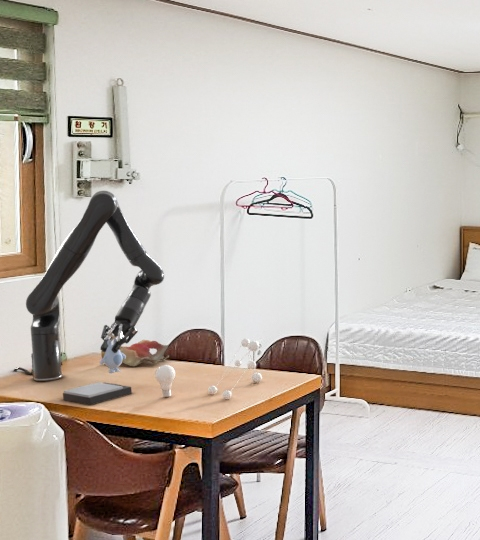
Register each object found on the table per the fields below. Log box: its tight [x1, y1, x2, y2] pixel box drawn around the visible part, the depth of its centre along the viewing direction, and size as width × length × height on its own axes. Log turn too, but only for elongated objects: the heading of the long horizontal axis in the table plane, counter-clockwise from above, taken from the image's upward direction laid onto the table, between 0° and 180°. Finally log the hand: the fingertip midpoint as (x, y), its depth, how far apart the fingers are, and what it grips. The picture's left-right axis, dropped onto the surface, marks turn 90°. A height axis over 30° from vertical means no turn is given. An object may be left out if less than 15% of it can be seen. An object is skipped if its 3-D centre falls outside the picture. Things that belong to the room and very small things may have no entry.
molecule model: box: [207, 338, 263, 400], centre depth 299 cm, size 14×25×18 cm, turn 155°
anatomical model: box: [100, 339, 170, 367], centre depth 347 cm, size 23×25×10 cm
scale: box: [62, 381, 133, 406], centre depth 294 cm, size 14×16×3 cm
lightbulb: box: [154, 364, 177, 398], centre depth 292 cm, size 6×6×11 cm
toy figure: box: [99, 338, 126, 374], centre depth 312 cm, size 11×6×12 cm, turn 150°
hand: (108, 351), depth 310 cm, fingers closed on toy figure, 4 cm apart
